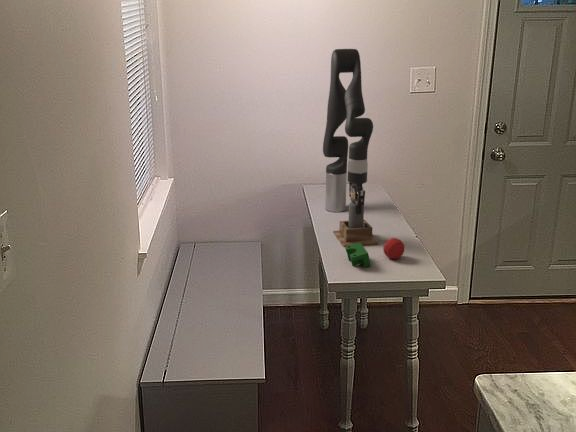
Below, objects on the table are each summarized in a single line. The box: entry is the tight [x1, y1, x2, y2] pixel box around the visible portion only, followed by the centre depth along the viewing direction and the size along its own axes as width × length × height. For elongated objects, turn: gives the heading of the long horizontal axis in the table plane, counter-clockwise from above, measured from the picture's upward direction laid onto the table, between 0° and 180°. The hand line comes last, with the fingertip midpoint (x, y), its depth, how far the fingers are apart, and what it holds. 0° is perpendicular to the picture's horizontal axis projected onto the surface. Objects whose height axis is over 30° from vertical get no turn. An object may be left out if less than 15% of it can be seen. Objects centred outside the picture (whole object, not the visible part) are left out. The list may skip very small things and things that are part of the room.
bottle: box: [347, 192, 365, 228], centre depth 261 cm, size 6×6×15 cm
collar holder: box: [332, 219, 380, 248], centre depth 264 cm, size 16×14×6 cm
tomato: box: [382, 237, 405, 260], centre depth 244 cm, size 8×8×8 cm
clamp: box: [344, 242, 372, 268], centre depth 240 cm, size 12×6×9 cm, turn 3°
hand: (356, 211), depth 261 cm, fingers closed on bottle, 6 cm apart
